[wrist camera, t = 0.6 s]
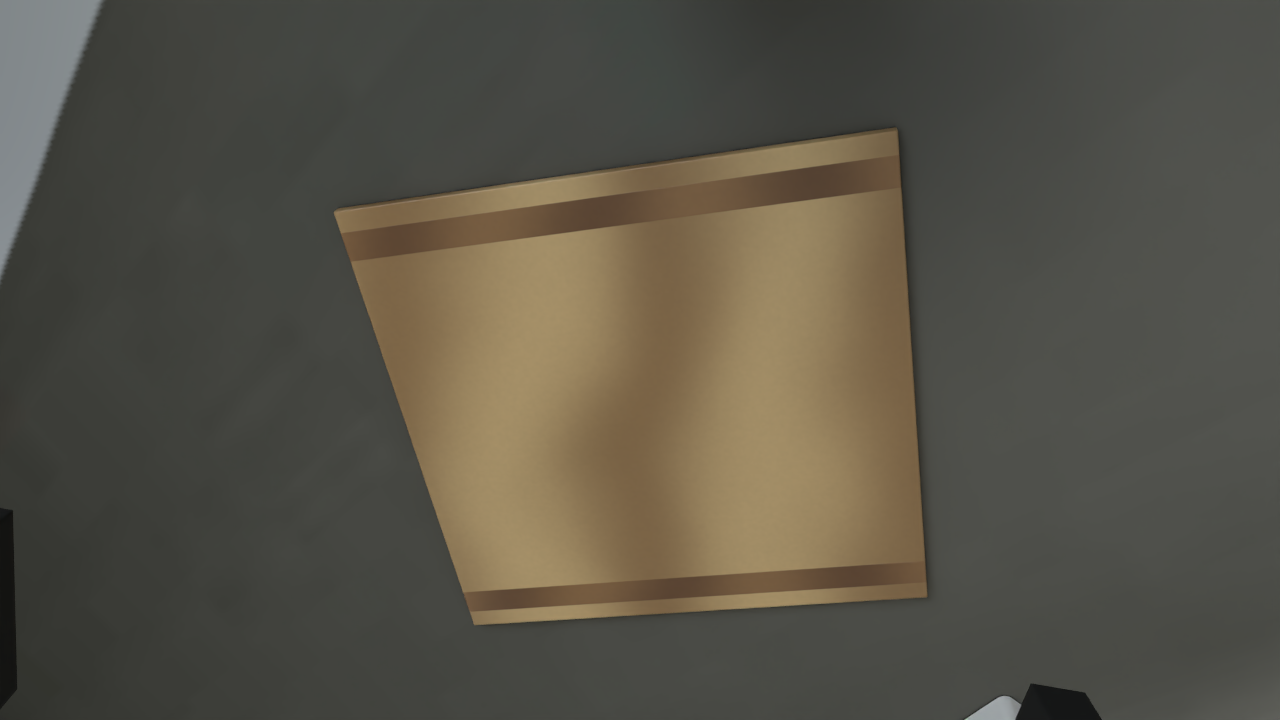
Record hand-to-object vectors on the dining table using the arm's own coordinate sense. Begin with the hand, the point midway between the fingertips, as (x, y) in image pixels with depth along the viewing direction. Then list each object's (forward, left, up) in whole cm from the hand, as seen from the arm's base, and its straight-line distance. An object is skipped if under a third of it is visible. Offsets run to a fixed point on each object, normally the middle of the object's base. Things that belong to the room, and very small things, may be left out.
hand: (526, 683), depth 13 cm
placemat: (+3, +11, -24) cm, 26 cm away
